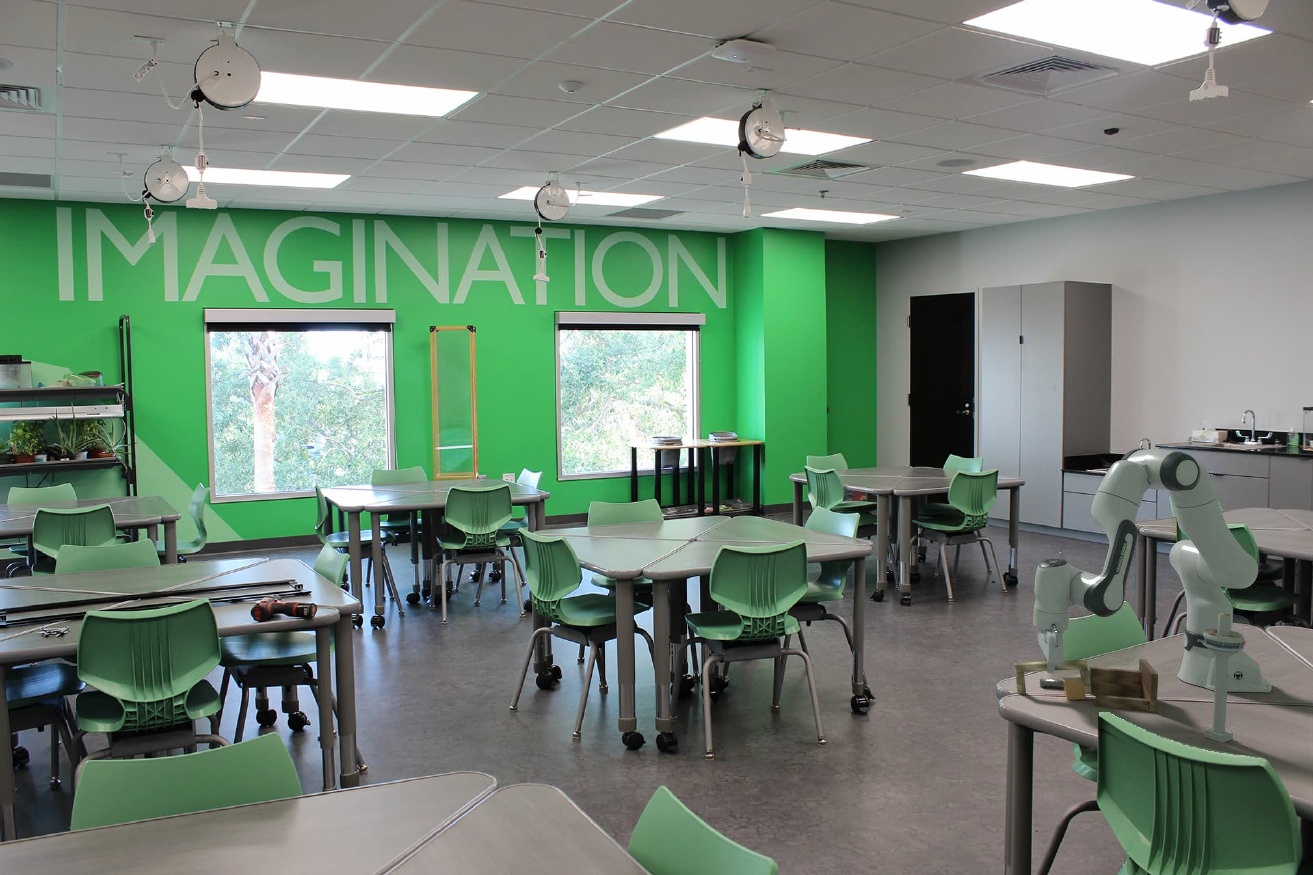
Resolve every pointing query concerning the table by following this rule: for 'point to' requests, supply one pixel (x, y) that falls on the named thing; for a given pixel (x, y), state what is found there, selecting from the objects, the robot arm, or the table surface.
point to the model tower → (1221, 672)
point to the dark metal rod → (1051, 683)
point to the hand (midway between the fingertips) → (1049, 670)
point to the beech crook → (1066, 665)
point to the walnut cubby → (1125, 687)
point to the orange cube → (1074, 688)
